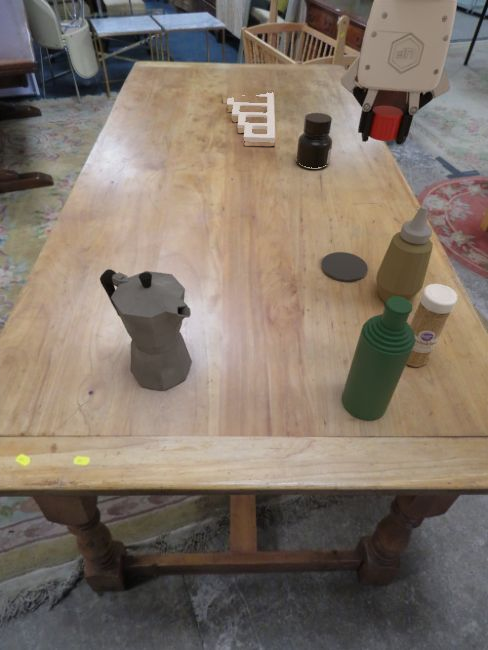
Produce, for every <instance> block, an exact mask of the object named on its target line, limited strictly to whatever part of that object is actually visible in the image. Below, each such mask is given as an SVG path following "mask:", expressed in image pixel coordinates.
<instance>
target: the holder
mask: <svg viewBox="0 0 488 650" xmlns="http://www.w3.org/2000/svg"><path fill="white" fill-rule="evenodd" d="M242 96H245V95H242ZM256 96H259V97H267V103H249V102H234V98H233V97H232V98H228V99H227V104H226V106H227V105H233V109H232V113H231V117H232V116H238V123H236V124H237V127H236V129H237V128H244V134H243V142H244V141H249V142H270V143H274V142H275V143H276V121H275V120H276V119H275V116H276V115H275V92H274V93H273V92H272V93H268V92H267V93H266V94H260V95H256ZM240 106H261V107H267V112H266V113H263V112H240V111H239V110H240ZM246 117H264V118H267V123H249V122H245V121H246ZM252 129H266V130H267V134H254V133H252Z"/></svg>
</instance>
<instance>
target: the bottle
mask: <svg viewBox="0 0 488 650" xmlns="http://www.w3.org/2000/svg"><path fill="white" fill-rule="evenodd" d="M412 311H413V305H412V302H411V300H410V301H409V300H407V299H406V298H403V297H400V296H393V297H390V298H388V299H387V300H386V302H385V304H384V308H383V311H382V313H381V314H377V315H374V316H371V317H370V318H368V319H367V320H366V321H365V322H364V323H363V325H362V327H361V330H360V334H359V336H358V339H357V344H356V347H355V350H354V353H353V357H352V361H351V363H350V367H349V370H348V374H347V378H346V380H345V384H344V387H343V391H342V395H341V402H342V405H343V407H344V409H345V410H346V411H347V412H348V414H350V415H351V416H352V417H354V418H356V419H358V420H361V421H367V422H369V421H370V422H372V421H376V420H378V419H380V418H382V417H383V416H384V415H385V414H386V411H387V410H388V407H389V405H390V403H391V400H392V398H393V396H394V394H395V391H396V389H397V387H398V384H399V382H400V379H401V378H402V375H403V372H404V370H405V369H406V366H407V364H406V363H407V361H408V359H409V356H410V354H411V352H412V349H413V347H414V345H415V334H414V331H413V329H412V328H411V327H410V324H409V323H408V319H409V316H410V314H411V313H412Z"/></svg>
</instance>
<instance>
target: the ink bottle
mask: <svg viewBox="0 0 488 650" xmlns="http://www.w3.org/2000/svg"><path fill="white" fill-rule="evenodd" d="M332 120H333V118H332V117H331V115H329V114H327V113H322V112H311V113H307V114H306V115H305V116H304V121H303V133H302V134H300V136H299V137H298V139H297V140H298V141H297V149H296V159H297V162H298V163H300V164H301V165H303V166H306V167H310V168H311V167H312V168H318V167H323V166H325V165H327V164H328V163H329V164H330V161H331V155H332V149H333V138H332V137H331V135H330V133H331V128H332V127H331V126H332ZM296 159H295V160H296ZM297 162H296V163H297Z"/></svg>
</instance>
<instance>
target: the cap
mask: <svg viewBox="0 0 488 650" xmlns="http://www.w3.org/2000/svg"><path fill="white" fill-rule="evenodd" d="M373 112H374V115H373V120H372V124H371V129H370V133H369V138H370V139H373V140H376V141H381V142H392V141H395V139H396V138H397V134H398V131H399V127H400V123H401V120H402V116H403V111H402V110H401V108H398V107H396V106H391V105H378V106H373Z"/></svg>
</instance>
